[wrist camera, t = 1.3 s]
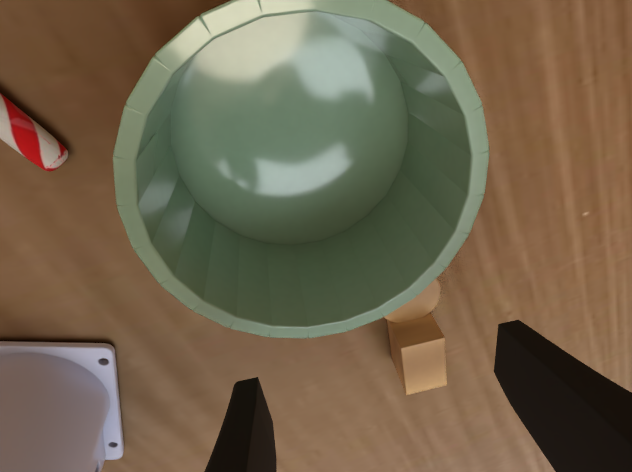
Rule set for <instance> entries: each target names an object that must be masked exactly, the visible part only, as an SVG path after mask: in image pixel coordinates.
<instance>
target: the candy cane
mask: <svg viewBox="0 0 632 472" xmlns="http://www.w3.org/2000/svg"><path fill="white" fill-rule="evenodd" d="M0 139H2V140H3V141H4V142H6V143H7V144H8V145H9V146H11V147H12V148H13V149H15V150H16V151H17V152H19V153H20V154H21V155H23V156H24V157H26V158H27V159H28V160H30V161H31V162H33V163H34V164H36V165H37V166H39V167H40V168H42V169H44V170H46V171H53V170H56V169H57V168H58V167H59V166H61V165H62V164H63V163H64V162H65V160H66V159H67V157H68V151H67V149H66V148H65V147H64V146H63V145H62V144H61V143H60V142H59V141H57V140H56V139H55V138H54V137H53V136H52V135H51V134H49V133H48V132H47V131H46V130H45V129H43V128H42V127H41V126H40V125H39V124H37V123H36V122H35V121H34V120H32V119H31V118H30V117H29V116H28V115H26V114H25V113H24V112H23V111H21V110H20V109H19V108H18V107H17V106H15V105H14V104H13V103H12V102H11V101H9V100H8V99H7V98H6V97H5V96H4V95H2V94H1V93H0Z"/></svg>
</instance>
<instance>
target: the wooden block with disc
mask: <svg viewBox="0 0 632 472" xmlns="http://www.w3.org/2000/svg"><path fill="white" fill-rule="evenodd" d="M440 295H441V286H440V283H439V281H438V279H437V278H436V279H435V280H434V281H433V282H432V283H430V284H429V285H428V286H427V287H426V288H425V289H424V290H423V291H422V292H421V293H420V294H419V295H416V297H415V298H414V299H412V300H411V301H409V302H407V303H406V304H404V305H403V306H401V307H399V308H398V309H396V310H395V311H393V312H391V313H390V314H388V315H387V316H385V317H384V318H386V319H387V326H388V334H389V341H390V349H391V356H392V360H393V363H394V365H395V368H396V370H397V373H398V376H399V378H400V381H401V383H402V386H403V388H404V391H405V393H406V395H409V394H413V393H417V392H421V391H425V390H429V389H433V388H437V387H441V386H445V385H447V381H446V354H445V337H444V335H443V334H442V332H441V330H440V328H439V327H438V325H437V323H436V322H435V320H434V318H433V316H432V315H431V313H430V312H431V311H432V310H433V309H434V308H435V306H436V305H437V303H438V301H439V299H440Z"/></svg>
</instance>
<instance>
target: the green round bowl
mask: <svg viewBox="0 0 632 472" xmlns="http://www.w3.org/2000/svg"><path fill="white" fill-rule="evenodd" d="M488 150H489V143H488V137H487V130H486V124H485V118H484V111H483V106H482V102H481V100H480V98H479V96H478V93H477V91H476V89H475V87H474V85H473V83H472V81H471V79H470V77H469V75H468V72H467V70H466V68H465V66H464V64H463V62H462V61H460V58H459V57H458V56H457V55H456V54H455V52H454V51H453V50H452V49H451V48H450V47H449V46H448V45H447V44H446V43H445V42H444V41H443V40H442V39H441V37H440V36H439V35H438V34H437V33H436V32H435V31H434V30H433V29H432V28H431V27H430V26H429V25H428V24H427V23H425V22H424V21H423V20H422V19H420V18H418V17H417V16H415V15H413V14H411V13H409V12H408V11H406V10H404V9H402V8H401V7H399V6H397V5H395V4H393V3H392V2H390V1H388V0H230V1H228V2H226V3H224V4H221V5H219V6H217V7H215V8H212V9H210V10H208V11H206V12H204V13H202V14H201V15H200V16H197V17H196V18H194V19H193V20H192V21H191V22H190V23H189V24H188V25H187V26H185V27H184V28H183V29H182V30H181V31H180V32H179V33H178V34H176V35H175V36H174V37H173V38H172V39H171V40H170V41H169V42H167V43H166V44H165V45H164V46H163V47H162V48H161V49H160V50H158V51H157V52H156V53H155V56H153V57H152V58H151V60H150V62H149V63H148V65H147V67H146V68H145V70H144V72H143V74H142V75H141V77H140V79H139V80H138V82H137V84H136V85H135V87H134V89H133V90H132V92H131V94H130V95H129V97H128V99H127V100H126V105H125V106H124V108H123V112H122V117H121V121H120V125H119V130H118V134H117V138H116V143H115V147H114V151H113V170H114V183H115V197H116V204H117V209H118V212H119V214H120V217H121V219H122V222H123V225H124V227H125V230H126V232H127V235H128V238H129V240H130V243H131V246H132V248H134V251H135V252H136V254H137V255H138V256H139V258H140V259H141V261H142V262H143V263H144V265H145V266H146V267H147V269H148V270H149V271H150V273H151V274H152V275H153V277H154V278H155V279H156V281H157V282H158V283H160V285H161V286H162V287H163V288H164V289H166V290H167V291H168V292H169V293H170V294H172V295H173V296H174V297H175V298H177V299H178V300H179V301H180V302H182V303H183V304H184V305H185V306H187V307H188V308H189V309H190V310H193V311H194V312H196V313H198V314H200V315H202V316H204V317H206V318H208V319H210V320H212V321H214V322H217V323H219V324H221V325H223V326H225V327H227V328H229V327H230V329H234V330H238V331H242V332H247V333H251V334H255V335H260V336H264V337H268V336H269V337H270V338H314V337H320V336H326V335H331V334H337V333H343V332H346V330H347V331H350V330H352V329H355V328H357V327H360V326H363V325H365V324H368V323H370V322H373V321H376V320H378V319H381V318H383V317H385V316H387V315H388V314H390V313H391V312H393V311H395V310H396V309H398V308H399V307H401V306H403V305H404V304H406V303H407V302H409V301H411V300H412V299H414V298H415V297H416V295H419V294H420V293H421V292H422V291H423V290H424V289H425V288H426V287H427V286H428V285H429V284H430V283H432V282H433V281H434V280H435V279H436V278H437V277H438V276H439V275H440V274H441V273H442V272H443V271H444V270H445V268H447V267H448V265H449V264H450V262H451V261H452V259H453V258H454V256H455V255H456V253H457V252H458V250H459V249H460V248H461V246H462V245H463V243H464V242H465V240H466V239H467V237H468V236H469V233H470V231H471V229H472V226H473V224H474V221H475V218H476V216H477V213H478V210H479V208H480V205H481V203H482V200H483V197H484V193H485V186H486V178H487V169H488V161H489V151H488Z"/></svg>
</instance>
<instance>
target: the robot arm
mask: <svg viewBox="0 0 632 472" xmlns="http://www.w3.org/2000/svg"><path fill="white" fill-rule="evenodd" d="M102 358H105V359H107V360H104V359H102ZM494 373H495V375H496V377H497V379H498V381H499V383H500V385H501V387H502V389H503V391H504V393H505V395H506V397H507V398H508V400H509V402H510V404H511V406H512V407H513V409H514V410H515V412H516V413H517V415H518V416H519V418H520V419H521V421H522V422H523V424H524V425H525V427H526V428H527V430H528V431H529V433H530V434H531V436H532V437H533V439H534V440H535V442H536V443H537V445H538V446H539V448H540V449H541V451H542V452H543V454H544V455H545V456H546V458H547V459H548V461H549V462H550V464H551V465H552V467H553V468H554V470H555V471H556V472H632V393H631V392H629V391H628V390H626V389H624V388H623V387H621V386H619V385H617V384H616V383H614V382H612V381H611V380H609V379H607V378H606V377H604V376H603V375H601V374H599V373H598V372H596V371H594V370H593V369H591V368H590V367H588V366H587V365H585V364H584V363H582V362H580V361H579V360H577V359H576V358H574V357H573V356H571V355H570V354H568V353H567V352H565V351H564V350H562V349H561V348H559V347H558V346H556V345H555V344H553V343H552V342H550V341H549V340H547V339H546V338H544V337H543V336H542V335H540V334H539V333H537V332H536V331H534V330H533V329H531V328H530V327H528V326H527V325H525V324H524V323H522V322H521V321H519V320H515V321H511V322H506V323H502V324H499V325H498V335H497V345H496V356H495V366H494ZM123 452H124V442H123V432H122V421H121V410H120V400H119V389H118V378H117V368H116V357H115V349H114V347H113V346H112V345H110V344H106V343H67V342H13V341H0V472H101V470H102V467H103V464H104V461H105V460H113V459H119V458H121V457H122V456H123ZM205 472H276V450H275V440H274V430H273V421H272V418H271V415H270V412H269V409H268V406H267V403H266V400H265V397H264V394H263V391H262V388H261V385H260V382H259V379H258V377H256V378H252V379H247V380H243V381H238V382H236V384H235V385H234V388H233V392H232V396H231V399H230V403H229V406H228V409H227V412H226V416H225V419H224V422H223V425H222V428H221V430H220V433H219V436H218V439H217V441H216V444H215V447H214V449H213V452H212V455H211V457H210V460H209V462H208V465H207V467H206V469H205Z"/></svg>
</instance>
